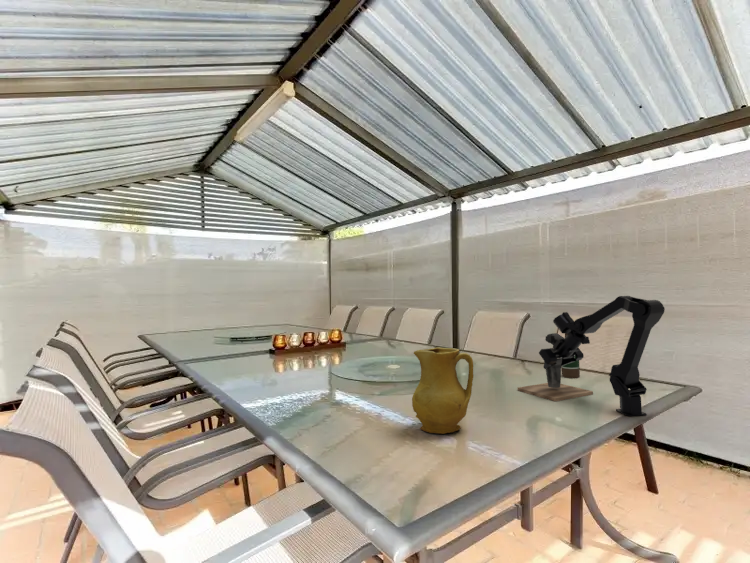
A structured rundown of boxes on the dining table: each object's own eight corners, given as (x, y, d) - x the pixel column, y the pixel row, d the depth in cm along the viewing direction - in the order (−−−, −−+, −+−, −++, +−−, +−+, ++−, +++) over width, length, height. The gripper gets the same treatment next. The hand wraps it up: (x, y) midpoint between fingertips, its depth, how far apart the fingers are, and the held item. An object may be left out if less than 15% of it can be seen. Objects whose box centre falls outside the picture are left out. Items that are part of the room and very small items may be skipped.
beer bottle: (558, 376, 199) (555, 325, 199) (569, 374, 202) (567, 324, 203) (572, 379, 192) (569, 327, 192) (583, 377, 195) (581, 325, 196)
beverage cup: (540, 385, 172) (538, 337, 173) (555, 383, 174) (552, 335, 175) (553, 389, 165) (550, 338, 166) (568, 387, 167) (565, 337, 168)
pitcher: (431, 417, 144) (428, 344, 144) (481, 426, 132) (478, 347, 132) (402, 431, 130) (398, 351, 131) (455, 443, 118) (451, 355, 119)
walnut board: (593, 394, 165) (592, 391, 165) (555, 401, 157) (555, 398, 157) (553, 384, 183) (553, 381, 183) (517, 390, 175) (517, 387, 175)
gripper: (575, 325, 171) (556, 349, 180) (541, 328, 163) (522, 353, 173) (593, 346, 163) (572, 370, 173) (558, 351, 156) (537, 376, 166)
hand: (550, 367), depth 171 cm, fingers closed on beverage cup, 6 cm apart
